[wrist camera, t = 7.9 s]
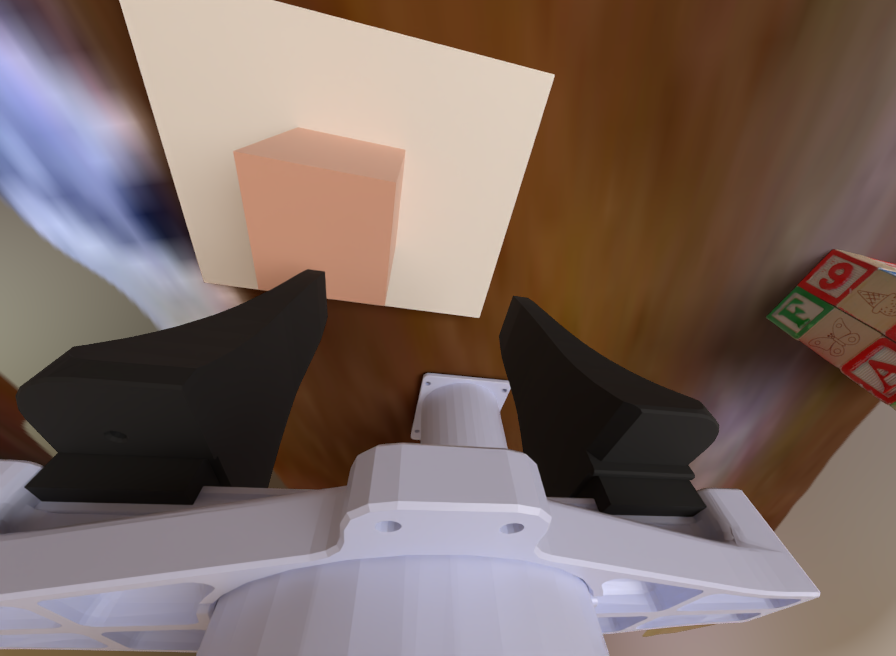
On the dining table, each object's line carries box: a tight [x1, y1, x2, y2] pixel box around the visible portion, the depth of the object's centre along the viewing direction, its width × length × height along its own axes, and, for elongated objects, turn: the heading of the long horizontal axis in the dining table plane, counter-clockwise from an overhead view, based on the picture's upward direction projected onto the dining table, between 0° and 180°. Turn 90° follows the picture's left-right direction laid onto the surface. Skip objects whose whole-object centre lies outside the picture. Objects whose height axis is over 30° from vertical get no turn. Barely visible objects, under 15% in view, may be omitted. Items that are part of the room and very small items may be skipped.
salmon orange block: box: [233, 127, 406, 306], centre depth 15 cm, size 5×5×7 cm
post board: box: [119, 0, 555, 318], centre depth 16 cm, size 14×18×7 cm
